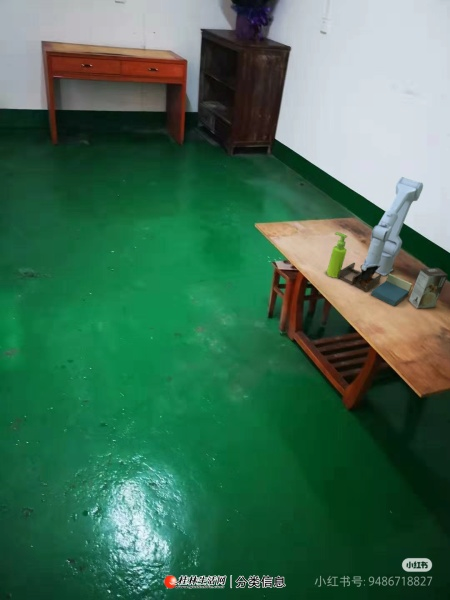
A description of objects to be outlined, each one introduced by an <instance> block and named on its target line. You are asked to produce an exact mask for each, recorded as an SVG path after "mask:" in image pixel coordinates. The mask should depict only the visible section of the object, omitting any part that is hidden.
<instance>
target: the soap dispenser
mask: <svg viewBox="0 0 450 600" xmlns="http://www.w3.org/2000/svg"><path fill="white" fill-rule="evenodd" d="M334 235H335V236H339V237H340V239H339V240H338V241H337V243H336V245H335V246H333V248H332V250H331V255H330V259H329V263H328V267H327V271H326V275H327V276H329V277H331V278H335V279H336V278H337V279H338V275H339V271H340V270H342V269H343V265H344V262H345V259H346V258H345V257H346V254H347V249H346V241H345V239H346V238H348V235H346V234H344V233H342V232H337V231H336V232H334Z"/></svg>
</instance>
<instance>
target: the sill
mask: <svg viewBox="0 0 450 600" xmlns="http://www.w3.org/2000/svg"><path fill="white" fill-rule="evenodd" d="M386 276H387V277H386V280H385V281H384V282H382V283H381V284H380V285H378V286H377V287H375V288H374V289H372V290H371V293H370V296H371V297H373V298H376V299H377V300H380V301H382V302H384V303H386V304H388V305H390V306H393V307H395V306H397V305H398V304H399V303H400V302H402V301H403V300H404V299H406V297H408V296H409V294H410V291H411V289H412V287H413V283H411V282H410V281H407V280H405V279H403V278H401V277H398V276H396V275H394V274H393V273H392V274H391V273H388V274H387V275H386Z"/></svg>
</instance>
